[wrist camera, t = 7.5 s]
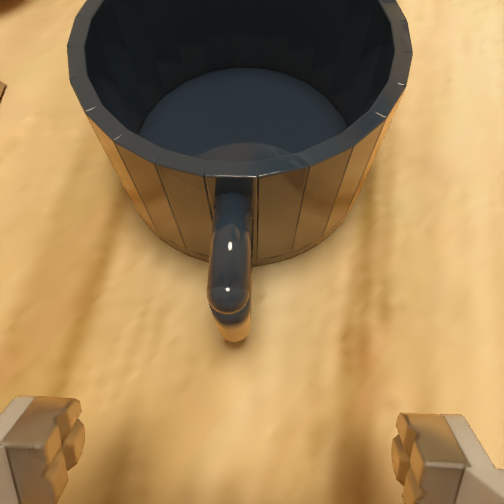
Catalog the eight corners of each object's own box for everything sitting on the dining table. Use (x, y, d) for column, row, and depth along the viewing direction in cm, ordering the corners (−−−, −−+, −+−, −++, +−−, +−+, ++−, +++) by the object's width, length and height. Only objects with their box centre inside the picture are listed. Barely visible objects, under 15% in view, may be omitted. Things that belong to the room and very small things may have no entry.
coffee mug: (142, 68, 27) (100, -72, 19) (354, 71, 26) (392, -69, 19) (92, 346, 19) (-6, 293, 12) (380, 354, 19) (457, 306, 12)
